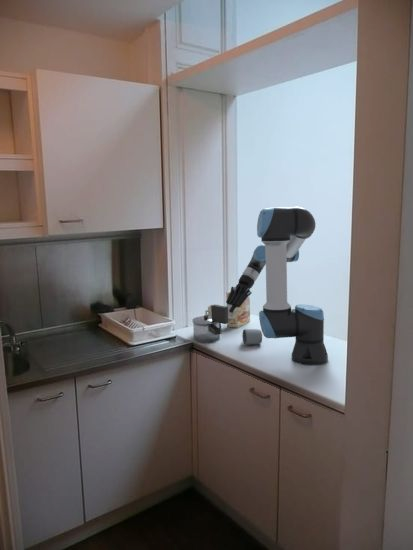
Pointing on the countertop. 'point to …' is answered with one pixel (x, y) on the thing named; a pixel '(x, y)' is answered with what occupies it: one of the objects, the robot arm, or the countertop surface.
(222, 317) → the lid
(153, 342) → the countertop surface
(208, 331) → the pot
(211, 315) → the character mug
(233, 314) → the coffeecake box
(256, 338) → the ceramic mug
